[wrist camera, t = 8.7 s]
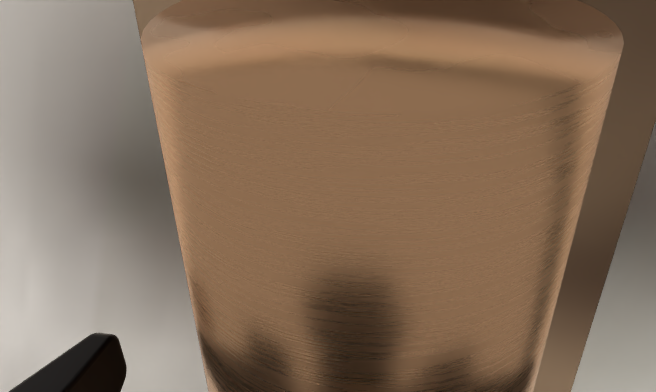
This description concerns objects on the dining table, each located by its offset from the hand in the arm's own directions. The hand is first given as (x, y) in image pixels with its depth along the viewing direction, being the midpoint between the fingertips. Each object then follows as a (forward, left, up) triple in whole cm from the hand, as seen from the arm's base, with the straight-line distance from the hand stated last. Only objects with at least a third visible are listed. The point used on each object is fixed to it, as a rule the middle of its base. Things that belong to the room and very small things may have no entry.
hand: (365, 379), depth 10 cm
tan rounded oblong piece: (0, 0, -3) cm, 3 cm away
